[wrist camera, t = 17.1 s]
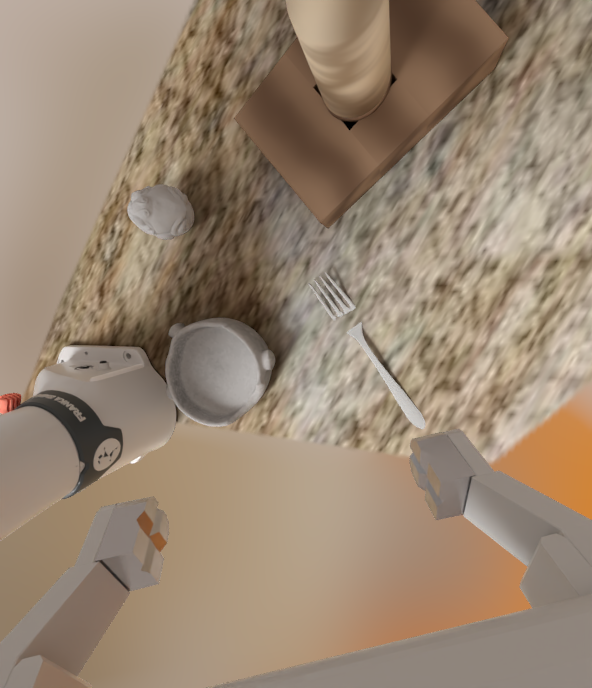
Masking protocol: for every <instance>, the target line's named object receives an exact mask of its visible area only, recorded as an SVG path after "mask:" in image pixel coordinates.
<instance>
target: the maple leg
mask: <svg viewBox="0 0 592 688" xmlns="http://www.w3.org/2000/svg"><path fill="white" fill-rule="evenodd" d="M286 6H287V11H288V15H289V18H290V20H291V23H292V25H293V28H294V30H295V32H296V35H297V37H298V40H299V42H300V45H301V47H302V49H303V52H304V54H305V57H306V59H307V61H308V64H309V66H310V69H311V71H312V74H313V76H314V78H315V81H316V83H317V86H318V88H319V91H320V93H321V96H322V99H323V102H324V104H325V106H326V108H327V110H328V111H329V112H330V114H332V115H333V116H334V117H335V118H337V119H339V120H342V121H347V122H351V123H355V124H356V123H357V122H358V121H359V120H362V119H364V118H366V117H368V116H369V115H371V114H372V113H373V112H375V111H376V110H377V109H378V108H379V107H380V105H381V104H382V103H383V101H384V100H385V98H386V96H387V94H388V91H389V88H390V85H391V78H392V67H391V52H390V18H389V0H286Z"/></svg>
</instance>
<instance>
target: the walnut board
mask: <svg viewBox="0 0 592 688" xmlns="http://www.w3.org/2000/svg"><path fill="white" fill-rule="evenodd" d="M389 18H390V52H391V67H392V78H391V85H390V88H389V91H388V94H387V96H386V98H385V100H384V101H383V103H382V104H381V105H380V107H379V108H378V109H377V110H376V111H375V112H373V113H372V114H371V115H369V116H368V117H366V118H364V119H362V120H359V121H358V122H357V123H356V124H355V125H354V126H353V127H352V128H351V129H350V130H349V129H348V128H347V127H346V126H345V124H344V123H343V122H342V121H341V120H339V119H337V118H335V117H334V116H333V115H332V114H330V112H329V111H328V110H327V108H326V106H325V104H324V102H323V99H322V96H321V93H320V91H319V88H318V86H317V83H316V81H315V78H314V76H313V74H312V71H311V69H310V66H309V64H308V61H307V59H306V57H305V54H304V52H303V49H302V47H301V45H300V42H299V40H298V37H297V38H296V39H295V41H294V42H293V43H292V44H291V46H290V47H289V48H288V50H287V51H286V52H285V54H284V55H283V56H282V57H281V59H280V60H279V61H278V63H277V64H276V65H275V66H274V68H273V69H272V70H271V72H270V73H269V74H268V75H267V77H266V78H265V79H264V81H263V82H262V83H261V84H260V86H259V87H258V88H257V90H256V91H255V92H254V93H253V95H252V96H251V97H250V99H249V100H248V101H247V102H246V104H245V105H244V106H243V108H242V109H241V110H240V111H239V113H238V114H237V115H236V117H235V118H234V119H235V120H236V122H237V123H238V124H239V125H240V126H241V128H242V129H243V130H244V131H245V132H246V134H247V135H248V136H249V137H250V138H251V140H252V141H253V142H254V143H255V144H256V146H257V147H258V148H259V149H260V150H261V152H262V153H263V154H264V155H265V157H266V158H267V159H268V160H269V161H270V163H271V164H272V165H273V166H274V167H275V169H276V170H277V171H278V172H279V173H280V175H281V176H282V177H283V178H284V179H285V181H286V182H287V183H288V184H289V185H290V187H291V188H292V189H293V190H294V192H295V193H296V194H297V195H298V196H299V198H300V199H301V200H302V201H303V202H304V204H305V205H306V206H307V207H308V208H309V210H310V211H311V212H312V213H313V214H314V216H315V217H316V218H317V219H318V221H319V222H320V223H321V224H323V225H324V226H326V227H327V228H329V227H330V226H331V225H332V224H333V223H334V222H335V221H336V220H338V219H339V218H340V217H341V216H342V215H343V214H344V213H345V212H346V211H347V210H348V209H349V208H350V207H351V206H352V205H353V204H354V203H355V202H356V201H357V200H358V199H359V198H360V197H362V196H363V195H364V194H365V193H366V192H367V191H368V190H369V189H370V188H371V187H372V186H373V185H374V184H375V183H376V182H377V181H378V180H379V179H380V178H381V177H382V176H383V175H384V174H385V173H387V172H388V171H389V170H390V169H391V168H392V167H393V166H394V165H395V164H396V163H397V162H398V161H399V160H400V159H401V158H402V157H403V156H404V155H405V154H406V153H407V152H408V151H409V150H411V149H412V148H413V147H414V146H415V145H416V144H417V143H418V142H419V141H420V140H421V139H422V138H423V137H424V136H425V135H426V134H427V133H428V132H429V131H430V130H431V129H432V128H433V127H434V126H436V125H437V124H438V123H439V122H440V121H441V120H442V119H443V118H444V117H445V116H446V115H447V114H448V113H449V112H450V111H451V110H452V109H453V108H454V107H455V106H456V105H457V104H458V103H460V102H461V101H462V100H463V99H464V98H465V97H466V96H467V95H468V94H469V93H470V92H471V91H472V90H473V89H474V88H475V87H476V86H477V85H478V84H479V83H480V82H481V81H482V80H483V79H485V78H486V77H487V76H488V75H489V74H490V73H491V72H492V71H493V70H494V69H495V67H496V65H497V62H498V60H499V58H500V56H501V54H502V52H503V49H504V47H505V45H506V43H507V41H508V39H509V38H508V37H507V36H506V34H505V33H504V32H503V31H502V30H501V29H500V28H499V27H498V25H497V24H496V23H495V22H494V21H493V20H492V19H491V18H490V16H489V15H488V14H487V13H486V12H485V11H484V10H483V9H482V7H481V6H480V5H479V4H478V3H477V2H476V1H475V0H389Z"/></svg>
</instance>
